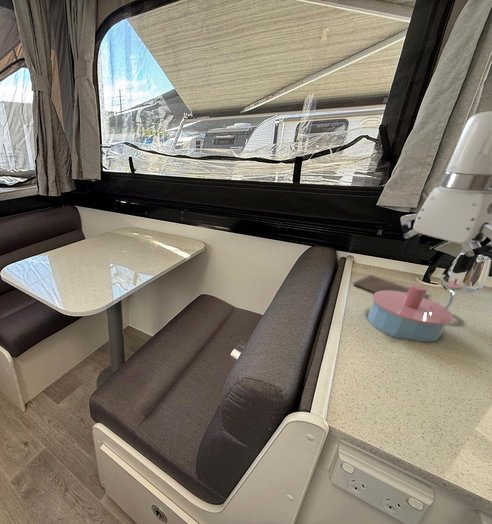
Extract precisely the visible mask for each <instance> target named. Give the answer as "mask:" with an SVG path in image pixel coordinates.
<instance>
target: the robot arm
mask: <svg viewBox="0 0 492 524" xmlns="http://www.w3.org/2000/svg"><path fill="white" fill-rule="evenodd" d="M457 141H458V142H457V144H456V146H455V148H454V151H453V153H452V155H451V157H450V160H449V162H448V165H447V167H446V169H445V172H444V173H443V176H442V178H441V181H440V183H439V186H436V187H434V188H433V189H432V191H431V192H430V194H429V195H428V197H427V198H426V200H425V201H424V203H423V204H422V206H421V208H420V210H419V212H416V213H411V214H406V215H402V216H400V218H399V219H400V225H401V227H400V229H401V231H402V233H403V238H404V239H405V240H404V242H403V243H402V247H401V252H400V255H401V256H411V255H414V254H415V252H416V251H417V248H418V246H419V243H420V241H421V240H420V236H422V235H423V236H427V237H432V238H435V239H440V240H443V241H447V242H451V243H454V244H460V246H461V248H462V250H463V253H465V254H462V255H460V256H459V258H458V260H457V262H456V264H455V266H454V268H453V270H452V272H453V273H463V272H466V271H468V270H470V269H471V268H472V266H473V264H474V262H475V260H476V259H477V257H478V255H485V254H489V253H491V252H492V110H490V111H483V112H482V111H481V112H478V113H475V114H473V115H472V116H470V118H468V120H467V121H466V123H465V125H464V127H463V129H462V132H461V135H460V136H459V139H458V140H457ZM413 221H414V222H413ZM412 222H413V225H412ZM486 238H488V239H489V240H490V241H489V242H488V243H487V244H485V245H481V242H484V241H485V240H486Z"/></svg>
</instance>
